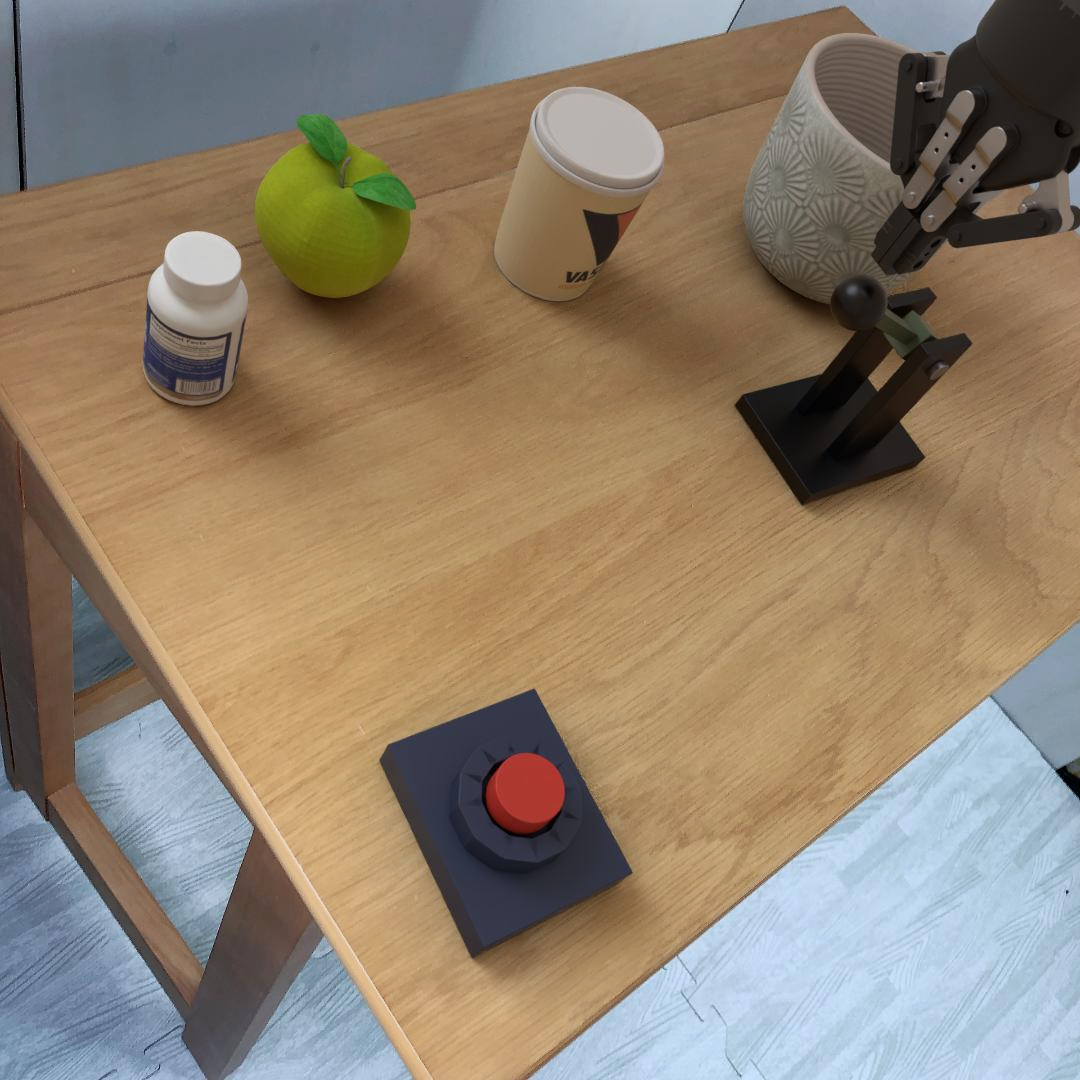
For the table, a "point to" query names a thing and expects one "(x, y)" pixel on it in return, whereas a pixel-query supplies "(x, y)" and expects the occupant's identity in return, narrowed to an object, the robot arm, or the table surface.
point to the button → (525, 793)
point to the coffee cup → (575, 191)
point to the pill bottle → (195, 319)
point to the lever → (878, 314)
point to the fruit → (332, 213)
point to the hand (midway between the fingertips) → (889, 264)
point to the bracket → (850, 411)
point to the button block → (480, 842)
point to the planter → (829, 169)
